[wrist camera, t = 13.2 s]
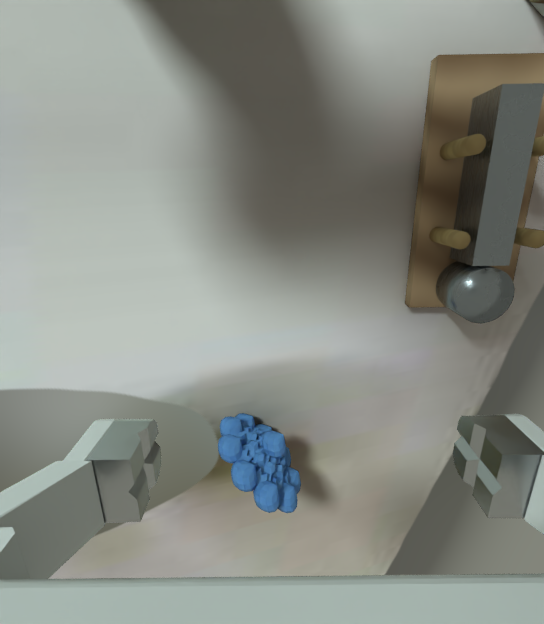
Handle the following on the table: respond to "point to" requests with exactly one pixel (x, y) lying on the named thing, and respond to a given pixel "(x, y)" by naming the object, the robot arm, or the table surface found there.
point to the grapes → (259, 463)
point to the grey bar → (491, 201)
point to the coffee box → (538, 5)
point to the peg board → (461, 163)
